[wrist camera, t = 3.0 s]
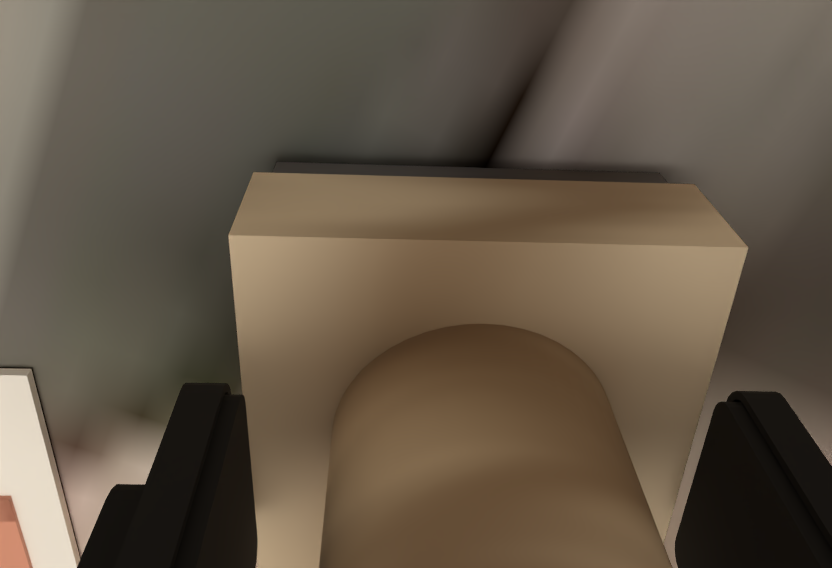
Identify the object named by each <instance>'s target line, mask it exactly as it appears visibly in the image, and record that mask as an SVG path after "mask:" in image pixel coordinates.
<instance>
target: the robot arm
mask: <svg viewBox="0 0 832 568" xmlns="http://www.w3.org/2000/svg"><path fill="white" fill-rule="evenodd" d="M257 547H258V538H257V525H256V514H255V503H254V492H253V480H252V469H251V458H250V447H249V435H248V424H247V413H246V402H245V397H244V395H231V391H230V387H229V385H228V384H226V383H185V384H184V385H183V386H182V388H181V390H180V393H179V396H178V398H177V401H176V404H175V406H174V409H173V412H172V414H171V417H170V420H169V422H168V425H167V428H166V430H165V433H164V436H163V438H162V441H161V444H160V447H159V449H158V452H157V455H156V457H155V460H154V463H153V465H152V468H151V471H150V473H149V476H148V479H147V481H146V484H145V485H130V484H117V485H116V486H114V487H113V488H112V489H111V491H110V493H109V495H108V496H107V498H106V500H105V503H104V505H103V507H102V510H101V512H100V514H99V517H98V519H97V521H96V524H95V526H94V529H93V531H92V533H91V536H90V538H89V540H88V543H87V545H86V547H85V550H84V552H83V554H82V557H81V559H80V561H79V564H78V566H77V568H255V566H256V559H257ZM675 556H676V562H677V565H678V568H832V466H831V465H830V463H829V462H828V460H827V459H826V457H825V456H824V455H823V453H822V452H821V450H820V449H819V447H818V446H817V444H816V443H815V441H814V440H813V439H812V437H811V436H810V434H809V433H808V431H807V430H806V428H805V427H804V425H803V424H802V423H801V421H800V420H799V418H798V417H797V415H796V414H795V412H794V411H793V410H792V408H791V407H790V405H789V404H788V402H787V401H786V399H785V398H784V397H783V396H782V395H781V394H780V393H777V392H758V391H736V392H732V393H731V395H730V396H729V397H728V399H727V402H719V403H718V404H717V405H716V406H715V409H714V412H713V415H712V418H711V422H710V425H709V428H708V432H707V435H706V439H705V442H704V445H703V449H702V452H701V455H700V459H699V462H698V466H697V469H696V472H695V476H694V479H693V482H692V486H691V489H690V493H689V496H688V499H687V503H686V506H685V509H684V513H683V516H682V520H681V523H680V526H679V530H678V533H677V536H676V541H675Z"/></svg>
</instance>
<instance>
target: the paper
mask: <svg viewBox="0 0 832 568" xmlns="http://www.w3.org/2000/svg"><path fill="white" fill-rule="evenodd" d="M79 561H80V556H79V552H78V548H77V544H76V540H75V537H74V533H73V529H72V525H71V521H70V517H69V513H68V509H67V505H66V502H65V498H64V494H63V490H62V486H61V482H60V478H59V474H58V470H57V467H56V463H55V459H54V455H53V451H52V447H51V443H50V439H49V435H48V432H47V428H46V424H45V420H44V416H43V412H42V408H41V404H40V400H39V396H38V393H37V389H36V385H35V381H34V377H33V373H32V369H13V368H0V568H77V566H78V564H79Z"/></svg>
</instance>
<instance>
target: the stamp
mask: <svg viewBox="0 0 832 568" xmlns="http://www.w3.org/2000/svg"><path fill="white" fill-rule="evenodd" d="M228 237H229V248H230V259H231V270H232V282H233V293H234V304H235V315H236V326H237V338H238V349H239V360H240V371H241V383H242V394H243V395H244V397H245V402H246V413H247V424H248V435H249V447H250V458H251V469H252V480H253V492H254V503H255V514H256V525H257V538H258V547H257V563H258V568H672V565H671V563H670V560H669V558H668V555H667V552H666V550H665V547H664V540H665V537H666V533H667V530H668V526H669V523H670V519H671V516H672V512H673V509H674V505H675V502H676V498H677V495H678V491H679V488H680V484H681V481H682V477H683V474H684V470H685V467H686V463H687V460H688V456H689V453H690V449H691V446H692V442H693V439H694V435H695V432H696V429H697V425H698V422H699V418H700V415H701V411H702V408H703V404H704V401H705V397H706V394H707V390H708V387H709V383H710V380H711V376H712V373H713V369H714V366H715V362H716V359H717V355H718V352H719V348H720V345H721V341H722V338H723V334H724V331H725V327H726V324H727V321H728V317H729V314H730V310H731V307H732V303H733V300H734V296H735V293H736V289H737V286H738V282H739V279H740V275H741V272H742V268H743V265H744V261H745V258H746V254H747V251H748V247H747V245H746V244H745V243H744V242H743V241H742V239H741V238H740V237H739V236H738V235H737V234H736V232H735V231H734V230H733V229H732V228H731V227H730V225H729V224H728V223H727V222H726V221H725V220H724V218H723V217H722V216H721V215H720V214H719V213H718V211H717V210H716V209H715V208H714V207H713V205H712V204H711V203H710V202H709V201H708V200H707V198H706V197H705V196H704V195H703V194H702V193H701V191H700V190H699V189H698V188H697V187H696V186H695V184H668V183H667V182H666V180H665V179H664V178H663V177H662V175H661V174H660V173H650V172H615V171H580V170H545V169H510V168H475V167H440V166H405V165H370V164H335V163H300V162H276V165H275V168H274V170H273V173H265V172H253V175H252V177H251V180H250V182H249V185H248V187H247V190H246V192H245V195H244V197H243V200H242V202H241V205H240V207H239V210H238V212H237V215H236V217H235V220H234V222H233V225H232V227H231V230H230V232H229V235H228Z"/></svg>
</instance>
